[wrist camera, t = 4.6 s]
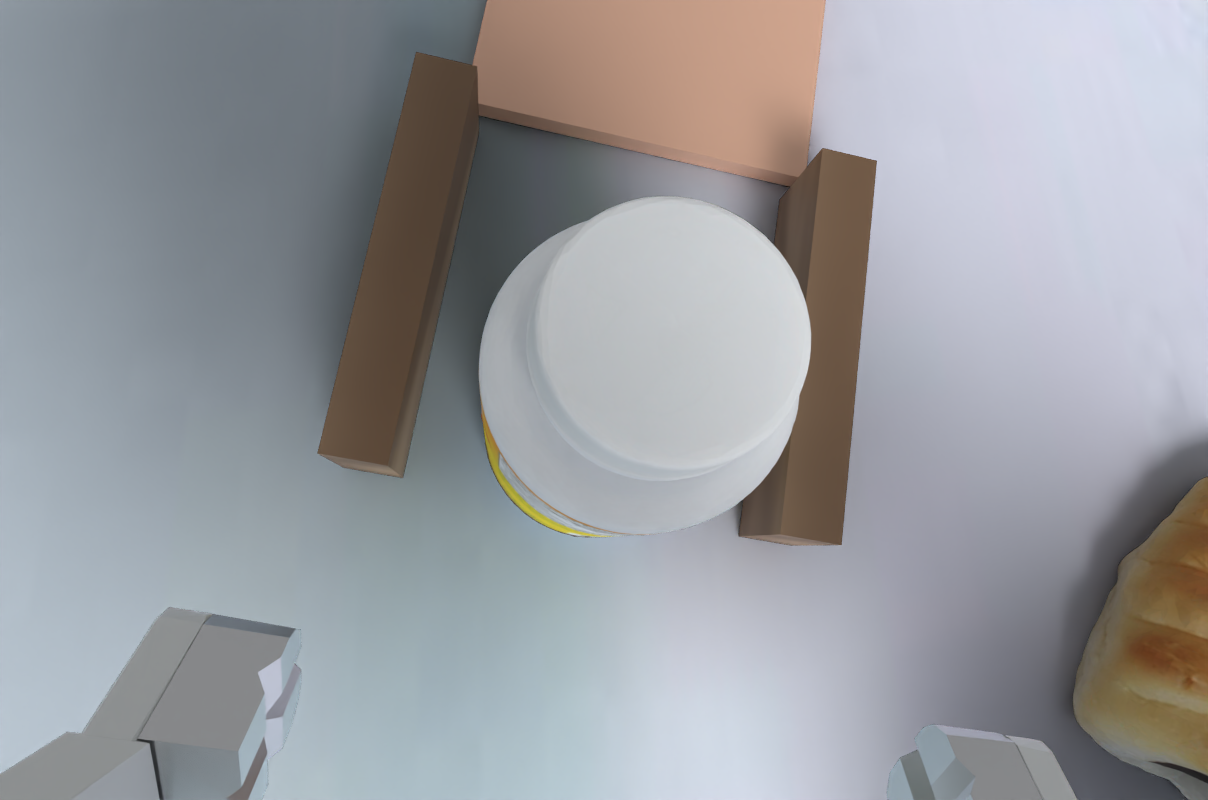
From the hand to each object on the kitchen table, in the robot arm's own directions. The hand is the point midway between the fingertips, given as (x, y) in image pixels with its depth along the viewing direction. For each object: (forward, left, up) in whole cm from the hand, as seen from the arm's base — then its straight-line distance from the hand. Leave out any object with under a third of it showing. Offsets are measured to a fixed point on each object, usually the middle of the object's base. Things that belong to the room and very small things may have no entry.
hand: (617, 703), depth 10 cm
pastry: (+18, +2, -10) cm, 21 cm away
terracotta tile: (0, +17, -10) cm, 20 cm away
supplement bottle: (0, +5, -10) cm, 11 cm away
